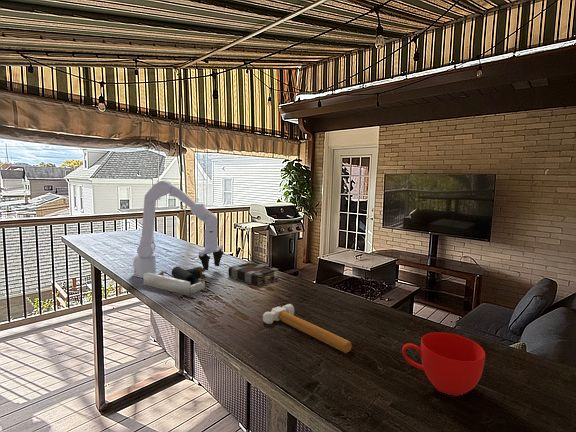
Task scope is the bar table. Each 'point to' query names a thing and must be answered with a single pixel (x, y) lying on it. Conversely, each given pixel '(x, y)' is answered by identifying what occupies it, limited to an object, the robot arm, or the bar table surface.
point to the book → (253, 273)
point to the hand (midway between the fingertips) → (211, 268)
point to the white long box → (172, 283)
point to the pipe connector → (188, 274)
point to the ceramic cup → (449, 362)
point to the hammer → (306, 327)
